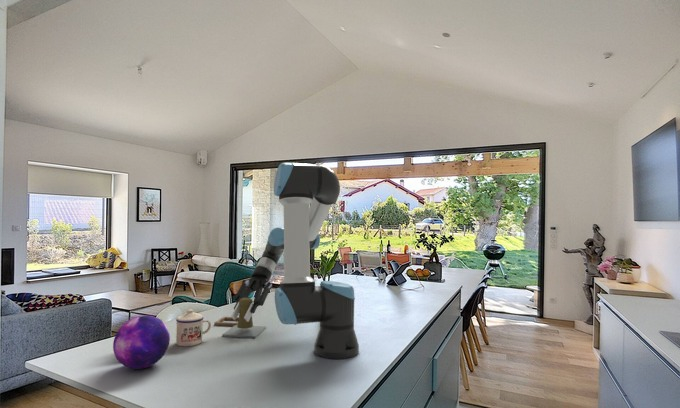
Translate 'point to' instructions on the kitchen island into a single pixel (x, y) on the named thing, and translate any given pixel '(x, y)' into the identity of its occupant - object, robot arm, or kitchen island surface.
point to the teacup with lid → (190, 328)
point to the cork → (244, 313)
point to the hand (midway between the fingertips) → (239, 318)
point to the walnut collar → (221, 323)
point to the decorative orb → (141, 342)
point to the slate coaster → (244, 332)
